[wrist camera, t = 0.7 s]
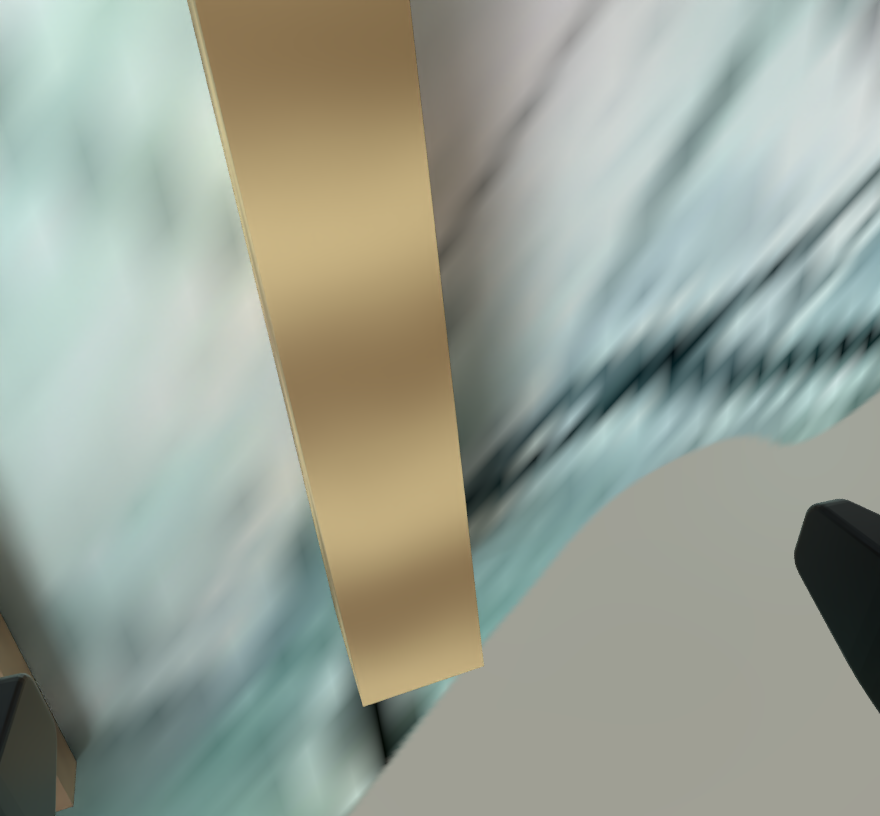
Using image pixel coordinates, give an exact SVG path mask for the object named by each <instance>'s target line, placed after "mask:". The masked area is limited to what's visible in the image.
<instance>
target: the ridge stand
mask: <svg viewBox="0 0 880 816" xmlns="http://www.w3.org/2000/svg"><path fill="white" fill-rule="evenodd" d="M19 673H26V674H28V675H29V676H31V677H32V679H33V680H34V678H33V676H32V674H31V672H30V670H29V668H28V666H27V664H26V662H25V660H24V658H23V656H22V654H21V653H20V651H19V649H18V647H17V645H16V643H15V641H14V639H13V637H12V635H11V633H10V631H9V629H8V627H7V625H6V623H5V621H4V619H3V617H2V615H1V613H0V677H5V676H9V675H14V674H19ZM34 682H35V680H34ZM35 684H36V682H35ZM36 686H37V684H36ZM37 688H38V686H37ZM38 690H39V688H38ZM39 692H40V690H39ZM40 694H41V692H40ZM41 696H42V694H41ZM42 698H43V696H42ZM43 700H44V698H43ZM44 702H45V700H44ZM45 704H46V706H47V708H48V710H49V712H50V714H51V716H52V718H53V720H54V723H55V728H56V734H57V766H56V812H57V811H60V810H63V809H66V808H70V807H73V804H74V791H75V778H76V765H77V762H76V760H75V758H74V756H73V754H72V753H71V751H70V749H69V747H68V745H67V743H66V741H65V739H64V737H63V735H62V733H61V731H60V729H59V727H58V725H57V723H56V721H55V719H54V717H53V715H52V713H51V711H50V709H49V707H48V705H47V703H46V702H45Z"/></svg>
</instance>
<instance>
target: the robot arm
mask: <svg viewBox="0 0 880 816" xmlns="http://www.w3.org/2000/svg"><path fill="white" fill-rule="evenodd" d="M794 559H795V565H796V567H797V570H798V573H799V575H800V576H801V578H802V580H803V582H804V584H805V586H806V587H807V589H808V591H809V593H810V595H811V597H812V598H813V600H814V602H815V604H816V606H817V608H818V610H819V611H820V613H821V615H822V617H823V619H824V621H825V622H826V624H827V626H828V628H829V630H830V631H831V633H832V635H833V637H834V639H835V641H836V643H837V644H838V646H839V648H840V650H841V652H842V654H843V656H844V657H845V659H846V661H847V663H848V664H849V666H850V668H851V669H852V671H853V673H854V675H855V677H856V678H857V680H858V681H859V683H860V685H861V686H862V688H863V689H864V691H865V692H866V694H867V695H868V697H869V698H870V700H871V701H872V703H873V704H874V706H875V707H876V709H877V710H878V712H879V713H880V515H879V514H877V513H875V512H873V511H871V510H868V509H866V508H864V507H862V506H860V505H857V504H855V503H853V502H851V501H848V500H845V499H835V500H830V501H826V502H821V503H816V504H814V505H812V506H811V507H810V508H809V509H808V510H807V512H806V515H805V518H804V521H803V525H802V528H801V531H800V535H799V538H798V541H797V544H796V547H795V551H794ZM56 766H57V734H56V728H55V723H54V720H53V718H52V716H51V714H50V712H49V710H48V708H47V706H46V704H45V702H44V700H43V698H42V696H41V694H40V692H39V690H38V688H37V686H36V684H35V682H34V680H33V679H32V677H31V676H29V675H28V674H26V673H19V674H14V675H9V676H5V677H0V816H55V813H56Z"/></svg>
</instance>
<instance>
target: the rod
mask: <svg viewBox="0 0 880 816" xmlns="http://www.w3.org/2000/svg"><path fill="white" fill-rule="evenodd" d="M187 2H188V6H189V10H190V14H191V18H192V23H193V27H194V31H195V35H196V39H197V43H198V47H199V51H200V55H201V60H202V64H203V68H204V72H205V76H206V80H207V84H208V88H209V93H210V97H211V101H212V105H213V109H214V113H215V117H216V121H217V125H218V130H219V134H220V138H221V142H222V146H223V150H224V154H225V158H226V163H227V167H228V171H229V175H230V179H231V183H232V187H233V191H234V195H235V200H236V204H237V208H238V212H239V216H240V220H241V224H242V228H243V233H244V237H245V241H246V245H247V249H248V253H249V257H250V261H251V265H252V270H253V274H254V278H255V282H256V286H257V290H258V294H259V298H260V302H261V307H262V311H263V315H264V319H265V323H266V327H267V331H268V335H269V340H270V344H271V348H272V352H273V356H274V360H275V364H276V368H277V372H278V377H279V381H280V385H281V389H282V393H283V397H284V401H285V405H286V410H287V414H288V418H289V422H290V426H291V430H292V434H293V438H294V442H295V447H296V451H297V455H298V459H299V463H300V467H301V471H302V475H303V480H304V484H305V488H306V492H307V496H308V500H309V504H310V508H311V512H312V517H313V521H314V525H315V529H316V533H317V537H318V541H319V545H320V550H321V554H322V558H323V562H324V566H325V570H326V574H327V578H328V582H329V587H330V591H331V595H332V599H333V603H334V607H335V611H336V615H337V618H338V622H339V625H340V629H341V632H342V636H343V639H344V642H345V646H346V649H347V653H348V656H349V660H350V663H351V666H352V670H353V673H354V677H355V680H356V684H357V687H358V690H359V694H360V697H361V701H362V704H363V707H364V706H367V705H370V704H373V703H376V702H379V701H382V700H385V699H388V698H391V697H394V696H397V695H400V694H403V693H406V692H408V691H411V690H414V689H417V688H420V687H423V686H426V685H429V684H432V683H435V682H438V681H441V680H444V679H447V678H450V677H453V676H456V675H459V674H462V673H465V672H468V671H471V670H474V669H477V668H480V667H482V666H484V663H483V654H482V645H481V636H480V627H479V618H478V609H477V600H476V591H475V582H474V573H473V564H472V555H471V546H470V537H469V528H468V519H467V510H466V501H465V492H464V484H463V475H462V466H461V457H460V448H459V439H458V430H457V421H456V412H455V403H454V394H453V385H452V376H451V367H450V358H449V349H448V340H447V331H446V322H445V313H444V304H443V295H442V286H441V277H440V268H439V259H438V250H437V241H436V232H435V223H434V214H433V205H432V196H431V187H430V178H429V169H428V160H427V151H426V142H425V133H424V124H423V116H422V107H421V98H420V89H419V80H418V71H417V62H416V53H415V44H414V35H413V26H412V17H411V8H410V0H187Z"/></svg>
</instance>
